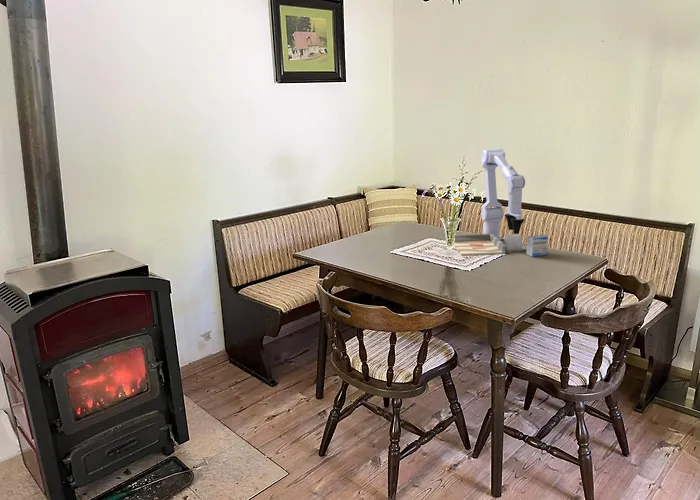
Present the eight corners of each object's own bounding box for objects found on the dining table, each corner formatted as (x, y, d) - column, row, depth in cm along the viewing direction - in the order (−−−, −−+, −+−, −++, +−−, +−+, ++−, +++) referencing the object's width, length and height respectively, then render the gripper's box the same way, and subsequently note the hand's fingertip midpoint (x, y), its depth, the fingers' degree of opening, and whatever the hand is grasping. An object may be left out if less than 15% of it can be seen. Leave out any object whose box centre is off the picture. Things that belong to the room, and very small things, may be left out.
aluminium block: (504, 249, 253) (504, 234, 251) (518, 248, 253) (519, 234, 251) (506, 251, 249) (507, 237, 247) (521, 251, 249) (522, 236, 247)
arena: (451, 242, 267) (451, 235, 266) (492, 240, 267) (492, 233, 266) (461, 255, 246) (461, 247, 245) (505, 253, 246) (505, 245, 245)
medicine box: (531, 257, 239) (532, 238, 237) (526, 254, 244) (527, 236, 241) (547, 255, 241) (548, 236, 239) (541, 252, 246) (542, 234, 243)
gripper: (501, 199, 252) (500, 228, 256) (510, 206, 238) (509, 236, 242) (516, 199, 252) (515, 227, 256) (526, 205, 238) (525, 235, 242)
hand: (513, 231), depth 249 cm, fingers open, 7 cm apart
